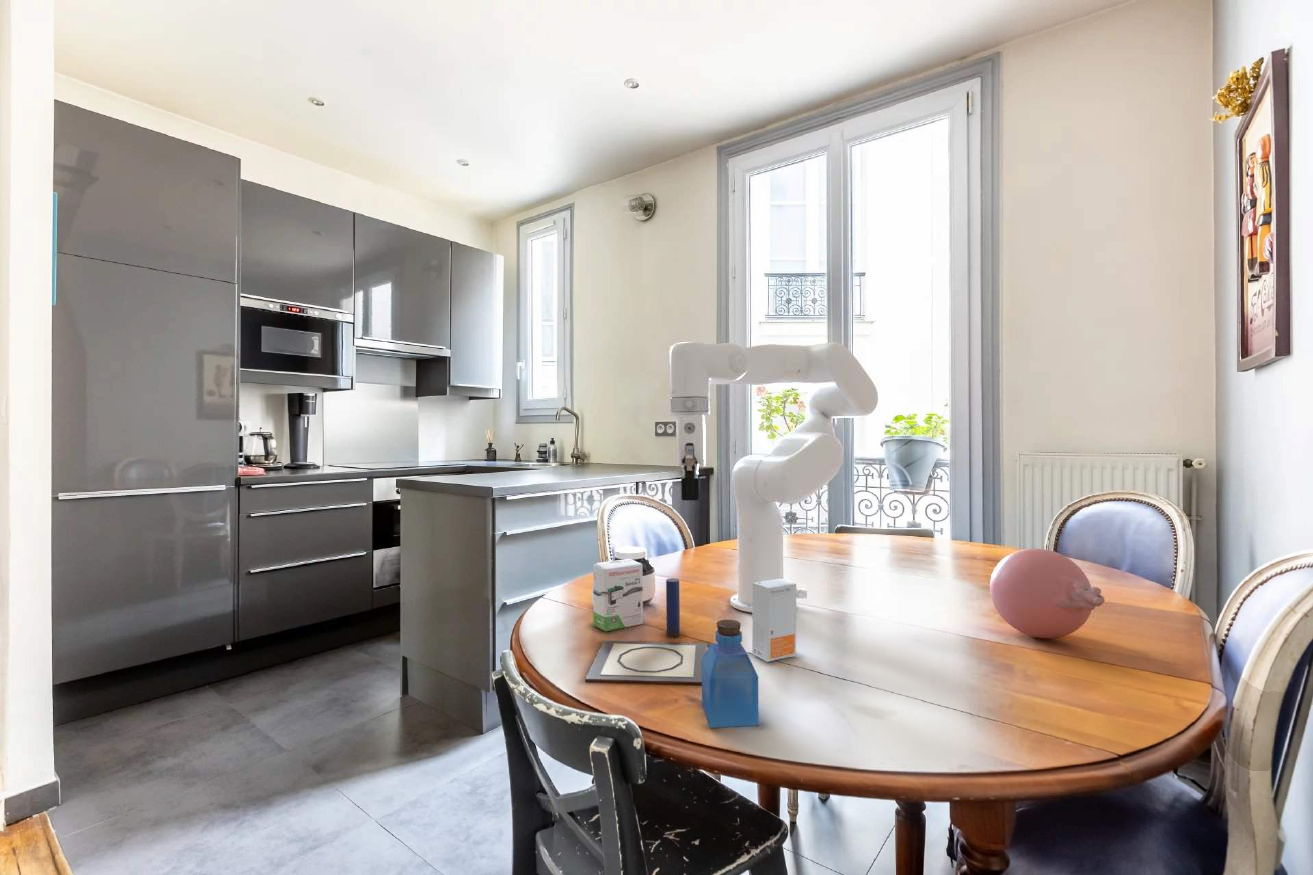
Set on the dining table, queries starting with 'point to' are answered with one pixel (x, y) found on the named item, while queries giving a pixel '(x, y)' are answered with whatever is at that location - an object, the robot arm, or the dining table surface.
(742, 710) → the perfume bottle
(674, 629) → the marker
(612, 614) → the ink box
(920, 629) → the dining table surface
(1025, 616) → the balloon
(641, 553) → the spread jar
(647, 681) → the drawing board
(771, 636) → the cosmetic box
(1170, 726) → the dining table surface
